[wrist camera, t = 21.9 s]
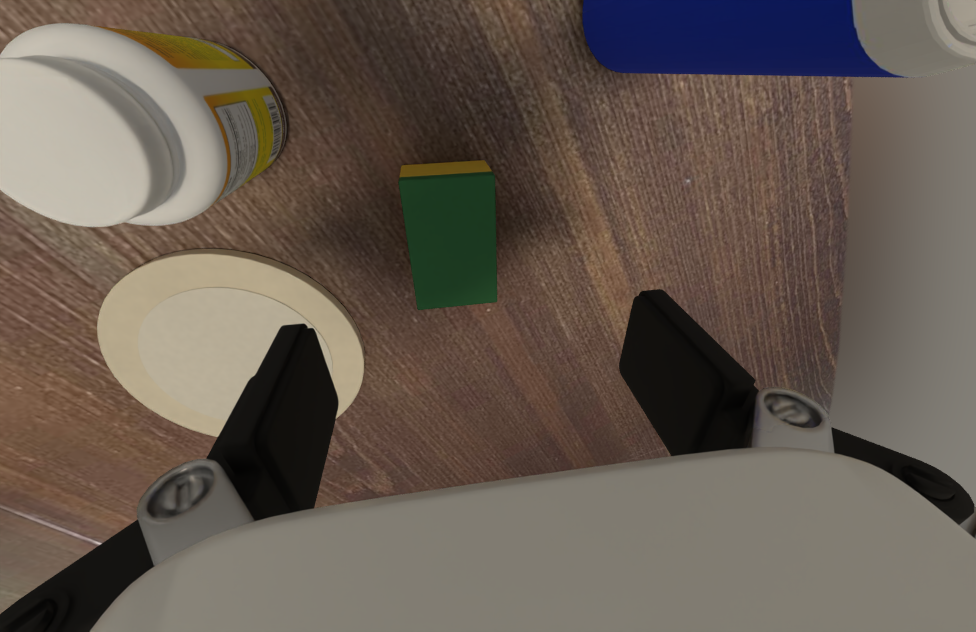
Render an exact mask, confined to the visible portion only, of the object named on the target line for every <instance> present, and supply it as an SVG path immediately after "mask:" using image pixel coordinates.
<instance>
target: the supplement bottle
mask: <svg viewBox="0 0 976 632" xmlns="http://www.w3.org/2000/svg"><path fill="white" fill-rule="evenodd" d="M285 139H286V118H285V113H284V110H283V106H282V104H281V101H280V99H279V97H278V95H277V93H276V91H275V89H274V87H273V86H272V84H271V83H270V81H269V80H268V79H267V78H266V76H265V75H264V74H263V73H262V72H261V71H260V70H259V69H258V68H257V67H256V66H255V65H254V64H253V63H252V62H251V61H250V60H248V59H247V58H246V57H244V56H243V55H241V54H240V53H238V52H237V51H235V50H233V49H231V48H229V47H227V46H224V45H222V44H220V43H217V42H213V41H210V40H204V39H198V38H191V37H181V36H172V35H164V34H156V33H148V32H139V31H131V30H123V29H115V28H107V27H100V26H92V25H84V24H67V23H61V24H49V25H44V26H40V27H36V28H33V29H30V30H28V31H26V32H24V33H22V34H20V35H19V36H17V37H16V38H15V39H13V40H12V41H11V42H10V43H9V44H8V45H7V46H6V47H5V49H4V50H3V52H2V53H1V55H0V190H1V191H3V192H4V193H5V194H6V195H8V196H9V197H11V198H12V199H14V200H15V201H17V202H18V203H20V204H22V205H24V206H25V207H27V208H29V209H31V210H33V211H35V212H37V213H39V214H41V215H43V216H46V217H48V218H51V219H54V220H57V221H60V222H64V223H68V224H72V225H77V226H85V227H105V226H112V225H116V224H120V223H123V222H127V223H131V224H138V225H150V226H160V225H169V224H175V223H179V222H183V221H186V220H188V219H191V218H193V217H195V216H197V215H199V214H201V213H202V212H204V211H205V210H207V209H208V208H210V207H211V206H212V205H214V204H215V203H217V202H218V201H220V200H221V199H223V198H224V197H226V196H227V195H229V194H230V193H232V192H233V191H235V190H236V189H238V188H239V187H241V186H242V185H243V184H245V183H246V182H248V181H249V180H251V179H252V178H254V177H255V176H256V175H258V174H259V173H261V172H262V171H264V170H265V169H267V168H268V167H269V166H270V165H271V164H273V163H274V161H275V160H276V159H277V158H278V156H279V155H280V153H281V151H282V149H283V146H284V143H285Z"/></svg>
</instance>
